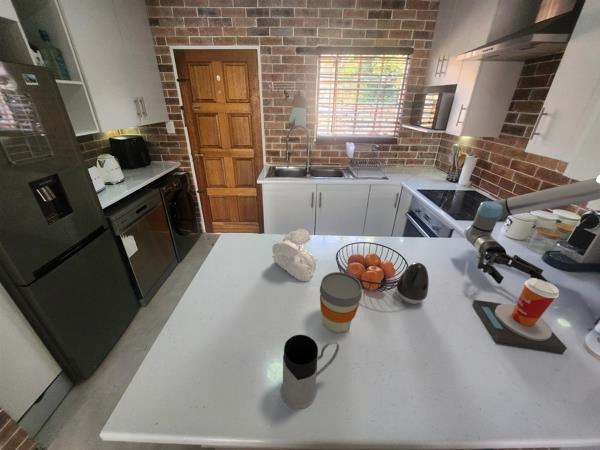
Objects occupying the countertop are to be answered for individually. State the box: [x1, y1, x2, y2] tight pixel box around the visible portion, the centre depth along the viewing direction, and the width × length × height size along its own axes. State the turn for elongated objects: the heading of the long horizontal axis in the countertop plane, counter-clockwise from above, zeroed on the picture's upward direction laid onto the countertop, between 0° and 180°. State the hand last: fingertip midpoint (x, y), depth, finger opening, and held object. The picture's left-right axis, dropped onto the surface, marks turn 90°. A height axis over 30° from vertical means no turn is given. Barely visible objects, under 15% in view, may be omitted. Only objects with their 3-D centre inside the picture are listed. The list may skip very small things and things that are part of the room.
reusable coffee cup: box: [319, 271, 363, 333], centre depth 77 cm, size 13×13×15 cm
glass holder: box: [280, 334, 340, 411], centre depth 58 cm, size 9×14×15 cm, turn 112°
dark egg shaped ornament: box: [396, 262, 430, 305], centre depth 87 cm, size 10×10×15 cm
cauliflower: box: [271, 228, 318, 282], centre depth 102 cm, size 19×20×20 cm
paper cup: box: [512, 277, 560, 327], centre depth 76 cm, size 8×8×14 cm
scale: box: [472, 299, 568, 354], centre depth 80 cm, size 18×16×4 cm
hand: (523, 283), depth 80 cm, fingers open, 13 cm apart
